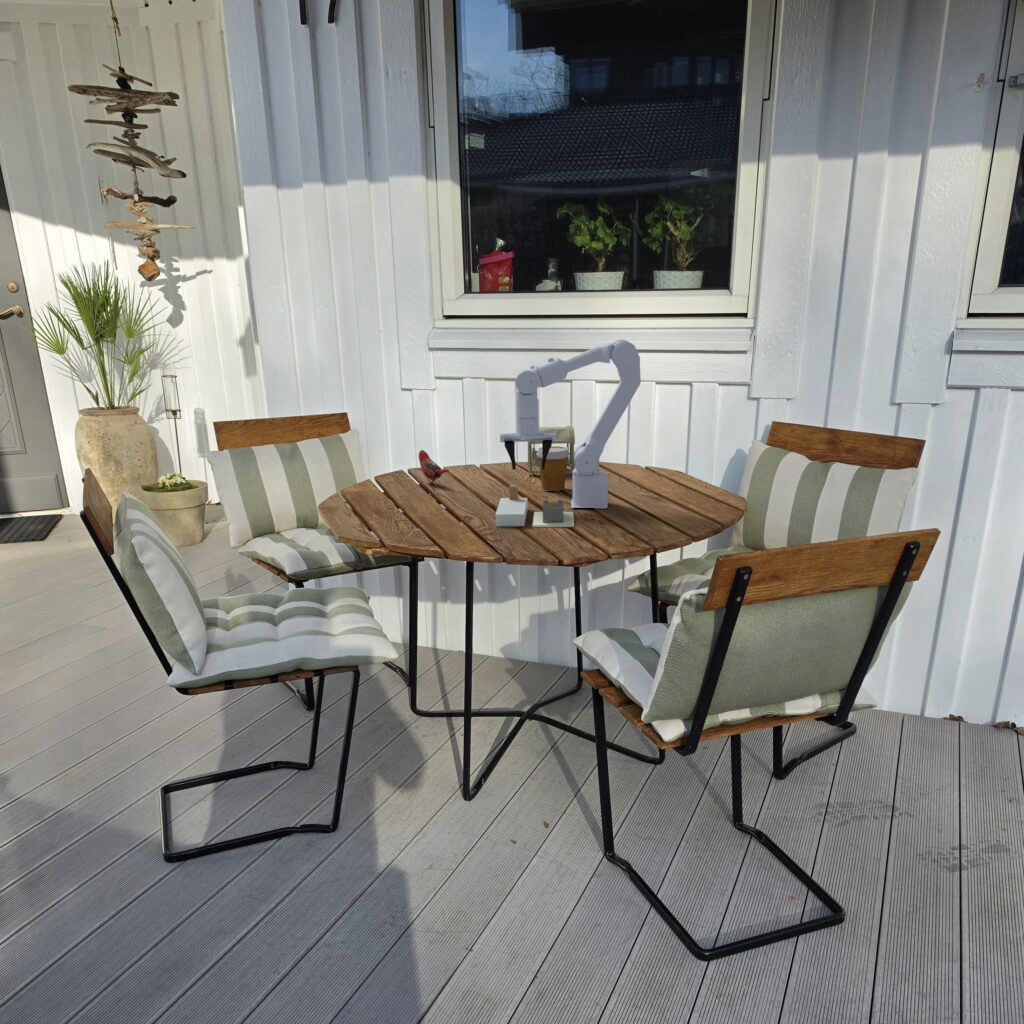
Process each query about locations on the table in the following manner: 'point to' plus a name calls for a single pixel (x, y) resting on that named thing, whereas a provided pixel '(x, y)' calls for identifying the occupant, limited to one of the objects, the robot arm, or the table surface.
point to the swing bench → (562, 436)
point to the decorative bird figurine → (430, 467)
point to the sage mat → (566, 523)
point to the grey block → (553, 511)
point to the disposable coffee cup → (553, 468)
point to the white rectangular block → (512, 509)
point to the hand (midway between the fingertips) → (528, 468)
